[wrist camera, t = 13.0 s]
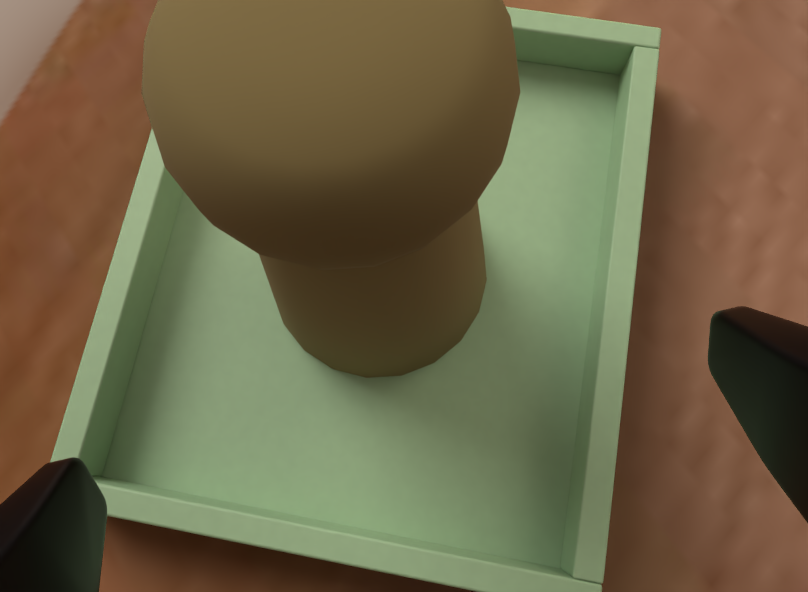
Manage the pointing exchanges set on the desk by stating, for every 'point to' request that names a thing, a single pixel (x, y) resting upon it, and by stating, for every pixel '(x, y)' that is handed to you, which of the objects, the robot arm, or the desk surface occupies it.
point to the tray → (396, 395)
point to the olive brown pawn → (343, 157)
